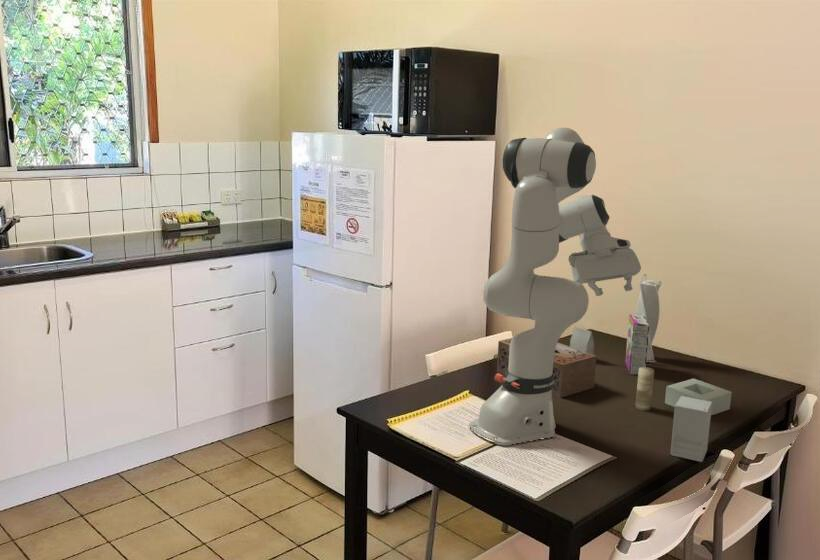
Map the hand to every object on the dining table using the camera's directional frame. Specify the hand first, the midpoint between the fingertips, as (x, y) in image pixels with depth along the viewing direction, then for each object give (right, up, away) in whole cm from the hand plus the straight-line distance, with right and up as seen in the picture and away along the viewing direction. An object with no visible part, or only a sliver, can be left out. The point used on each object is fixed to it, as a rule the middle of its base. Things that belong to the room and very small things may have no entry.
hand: (614, 292), depth 208 cm
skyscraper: (+18, -23, +34) cm, 45 cm away
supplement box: (+8, -38, -34) cm, 51 cm away
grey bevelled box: (-2, -22, +32) cm, 39 cm away
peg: (+6, -31, -7) cm, 33 cm away
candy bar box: (+13, -25, +23) cm, 36 cm away
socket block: (+21, -31, -6) cm, 38 cm away
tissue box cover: (-18, -27, +13) cm, 34 cm away
